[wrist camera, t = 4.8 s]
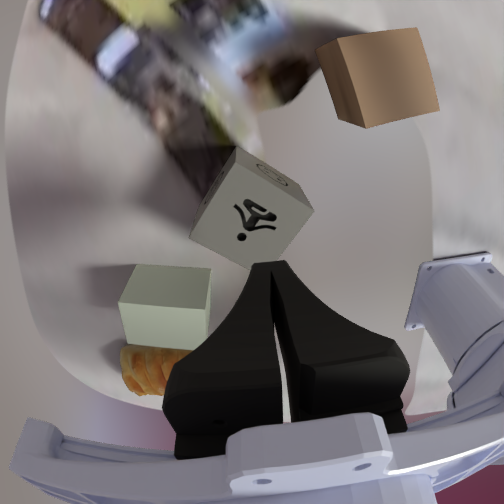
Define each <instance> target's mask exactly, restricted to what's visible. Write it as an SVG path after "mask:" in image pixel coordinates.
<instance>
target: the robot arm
mask: <svg viewBox="0 0 504 504" xmlns="http://www.w3.org/2000/svg"><path fill="white" fill-rule="evenodd" d="M491 260H492V254H491V253H489V252H488V253H482V254H476V255H469V256H463V257H456V258H449V259H443V260H436V261H429V262H423V263H422V264H421V265H420V266H419V270H418V274H417V279H416V283H415V287H414V292H413V296H412V300H411V304H410V307H409V312H408V315H407V319H406V322H405V326H404V327H405V329H406V330H407V331H408V330H414V329H418V328H422V327H425V328H426V330H427V332H428V333H429V335H430V337H431V338H432V340H433V342H434V343H435V345H436V347H437V349H438V350H439V352H440V354H441V356H442V357H443V359H444V361H445V363H446V364H447V366H448V368H449V370H450V372H451V373H452V375H453V376H452V377H451V379H450V380H449V381H448V383H449V385H450V387H451V389H452V392H450V394H449V395H448V398H447V411H446V412H443V413H440V414H437V415H434V416H431V417H429V418H426V419H422V420H420V421H416V422H413V423H410V424H406V421H405V419H404V416H403V413H402V410H401V409H402V408H403V402H402V400H401V397H400V395H401V393H402V391H403V389H404V387H405V384H406V382H407V380H408V377H409V374H410V368H409V364H408V362H407V360H406V358H405V356H404V354H403V352H402V351H401V349H400V348H399V346H398V345H397V343H396V342H395V340H393V339H390V338H388V337H385V336H382V335H379V334H377V333H374V332H371V331H369V330H367V329H365V328H363V327H360V326H359V325H357V324H355V323H353V322H351V321H349V320H348V319H346V318H344V317H343V316H341V315H339V314H338V313H336V312H335V311H333V310H332V309H331V308H329V307H328V306H327V305H326V304H324V303H323V302H322V301H321V300H320V299H319V298H317V297H316V296H315V295H314V294H313V293H312V292H311V291H310V290H309V289H308V288H307V287H306V286H305V285H304V283H303V282H302V281H301V280H300V279H299V278H298V277H297V275H296V274H295V273H294V272H293V270H292V269H291V268H290V266H289V265H288V263H287V262H286V261H285V260H281V261H271V262H260V263H254V264H253V265H252V266H251V271H250V274H249V277H248V280H247V282H246V284H245V286H244V289H243V291H242V293H241V295H240V296H239V298H238V300H237V302H236V303H235V305H234V307H233V308H232V310H231V311H230V313H229V314H228V315H227V317H226V318H225V319H224V321H223V322H222V323H221V324H220V325H219V327H218V328H217V329H216V330H215V331H214V332H213V333H212V334H211V335H210V336H209V337H208V338H207V339H206V340H205V341H204V342H203V343H202V344H201V345H199V346H198V347H197V348H196V349H195V350H193V351H192V352H191V353H189V354H188V355H186V356H185V357H184V358H182V359H181V360H179V361H178V362H176V363H175V364H174V365H173V367H172V370H171V372H170V375H169V378H168V381H167V383H166V387H165V392H164V399H163V405H162V409H163V412H164V414H165V416H166V418H167V420H168V421H169V423H170V424H171V426H172V428H173V429H174V431H175V432H176V441H175V450H174V451H168V450H155V449H145V448H135V447H126V446H119V445H113V444H106V443H100V442H95V441H89V440H84V439H79V438H75V437H70V436H66V435H63V434H62V432H61V431H60V430H59V429H58V428H57V427H56V426H54V425H53V424H51V423H48V422H45V421H41V420H38V419H33V418H30V417H29V418H27V420H26V423H25V425H24V428H23V430H22V433H21V435H20V438H19V441H18V443H17V446H16V449H15V452H14V454H13V457H12V460H11V463H10V466H9V469H10V470H11V471H12V472H14V473H15V474H16V475H18V476H19V477H21V478H22V479H24V480H25V481H27V482H28V483H30V484H31V485H33V486H35V487H36V488H37V489H39V490H41V491H42V492H44V493H45V494H47V495H49V496H52V497H54V498H57V499H60V500H63V501H66V502H68V503H71V504H437V501H436V498H435V495H434V493H436V492H438V491H440V490H442V489H445V488H447V487H449V486H451V485H453V484H455V483H457V482H459V481H461V480H463V479H464V478H466V477H468V476H470V475H472V474H473V473H475V472H477V471H479V470H480V469H482V468H484V467H486V466H487V465H499V464H504V276H503V275H502V274H501V273H500V272H499V271H498V270H497V269H496V268H495V267H494V266H493V265H492V264H491ZM429 266H430V267H429ZM428 267H429V268H428ZM274 323H275V328H276V332H277V336H278V341H279V345H280V349H281V353H282V358H283V362H284V367H285V372H286V380H287V388H288V397H289V406H290V415H291V423H285V424H283V403H282V381H281V373H280V366H279V360H278V355H277V349H276V343H275V336H274Z"/></svg>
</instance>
